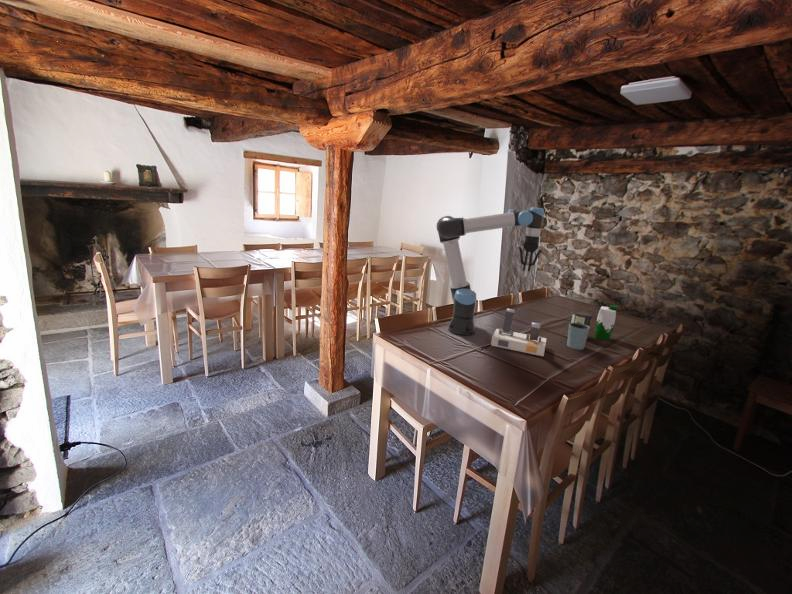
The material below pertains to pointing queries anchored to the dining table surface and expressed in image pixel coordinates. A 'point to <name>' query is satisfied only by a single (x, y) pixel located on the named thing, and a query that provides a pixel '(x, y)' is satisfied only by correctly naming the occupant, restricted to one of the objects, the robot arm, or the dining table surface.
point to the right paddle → (534, 331)
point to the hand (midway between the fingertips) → (525, 276)
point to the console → (518, 342)
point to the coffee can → (582, 318)
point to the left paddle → (508, 320)
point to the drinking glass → (577, 335)
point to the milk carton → (605, 322)
